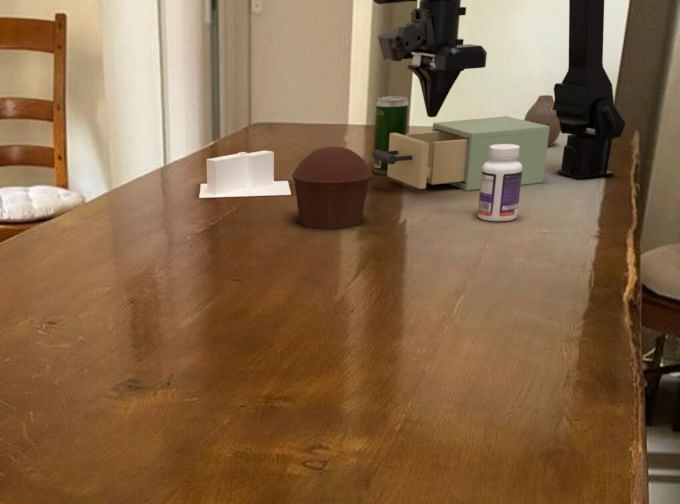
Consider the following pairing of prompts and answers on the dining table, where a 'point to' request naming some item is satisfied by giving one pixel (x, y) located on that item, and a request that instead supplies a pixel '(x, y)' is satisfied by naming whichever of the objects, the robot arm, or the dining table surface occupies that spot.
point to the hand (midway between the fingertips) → (431, 116)
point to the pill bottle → (500, 184)
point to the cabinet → (500, 132)
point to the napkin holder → (242, 176)
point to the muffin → (331, 188)
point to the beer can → (388, 125)
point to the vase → (545, 116)
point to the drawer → (426, 158)
